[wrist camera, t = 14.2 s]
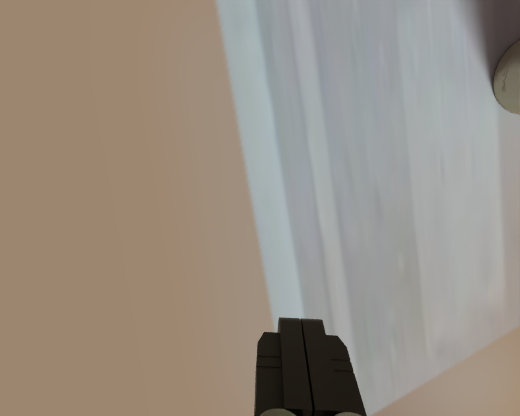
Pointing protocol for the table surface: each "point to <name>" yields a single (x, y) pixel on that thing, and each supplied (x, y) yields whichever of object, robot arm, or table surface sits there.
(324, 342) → the robot arm
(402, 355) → the table surface
